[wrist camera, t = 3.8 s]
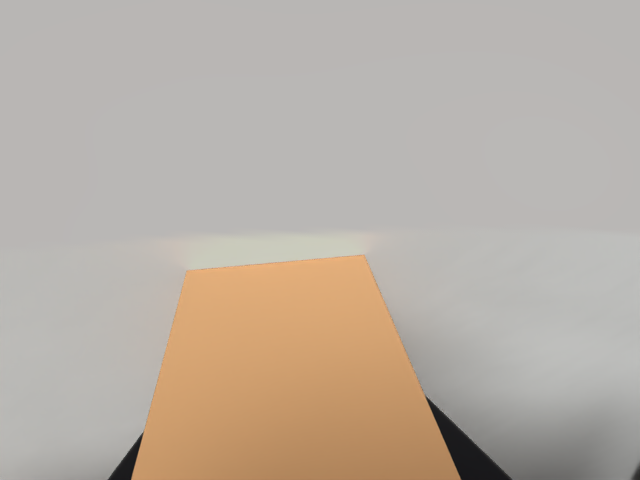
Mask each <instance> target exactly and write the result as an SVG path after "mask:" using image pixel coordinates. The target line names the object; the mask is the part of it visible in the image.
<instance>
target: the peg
mask: <svg viewBox="0 0 640 480" xmlns="http://www.w3.org/2000/svg"><path fill="white" fill-rule="evenodd" d="M131 480H461V479H460V476H459V474H458V472H457V469H456V467H455V465H454V462H453V460H452V458H451V455H450V453H449V451H448V448H447V446H446V444H445V441H444V439H443V437H442V434H441V432H440V430H439V427H438V425H437V423H436V420H435V418H434V416H433V414H432V411H431V409H430V407H429V404H428V402H427V400H426V397H425V395H424V393H423V390H422V388H421V386H420V383H419V381H418V379H417V376H416V374H415V372H414V369H413V367H412V365H411V362H410V360H409V358H408V355H407V353H406V351H405V348H404V346H403V344H402V342H401V339H400V337H399V335H398V332H397V330H396V328H395V325H394V323H393V321H392V318H391V316H390V314H389V311H388V309H387V307H386V304H385V302H384V300H383V297H382V295H381V293H380V290H379V288H378V286H377V283H376V281H375V279H374V276H373V274H372V272H371V269H370V267H369V265H368V263H367V260H366V258H365V256H364V255H357V256H346V257H335V258H324V259H312V260H301V261H290V262H279V263H268V264H257V265H245V266H234V267H223V268H212V269H201V270H189V271H187V272H186V276H185V280H184V283H183V287H182V291H181V295H180V298H179V302H178V306H177V310H176V313H175V317H174V321H173V325H172V328H171V332H170V336H169V340H168V343H167V347H166V351H165V355H164V358H163V362H162V366H161V370H160V373H159V377H158V381H157V385H156V388H155V392H154V396H153V400H152V403H151V407H150V411H149V415H148V418H147V422H146V426H145V430H144V433H143V437H142V441H141V445H140V448H139V452H138V456H137V460H136V463H135V467H134V471H133V475H132V478H131Z"/></svg>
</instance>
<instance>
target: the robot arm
mask: <svg viewBox="0 0 640 480" xmlns="http://www.w3.org/2000/svg"><path fill="white" fill-rule="evenodd" d="M425 397H426V396H425ZM426 400H427V402H428V404H429V407H430V409H431V411H432V414H433V416H434V418H435V420H436V423H437V425H438V427H439V430H440V432H441V434H442V437H443V439H444V441H445V444H446V446H447V448H448V451H449V453H450V455H451V458H452V460H453V462H454V465H455V467H456V469H457V472H458V474H459V476H460V479H461V480H512V479H511V478H510V477H509V476H508V475H507V474H506V473H505V472H504V471H503V470H502V469H501V468H500V467H499V466H498V465H497V464H496V463H495V462H494V461H493V460H492V459H491V458H489V457H488V456H487V455H486V454H485V453H484V452H483V451H482V450H481V449H480V448H479V447H478V446H477V445H476V444H475V443H474V442H473V441H472V440H471V439H470V438H469V437H468V436H467V435H466V434H465V433H464V432H463V431H461V430H460V429H459V428H458V427H457V426H456V425H455V424H454V423H453V422H452V421H451V420H450V419H449V418H448V417H447V416H446V415H445V414H444V413H443V412H442V411H441V410H440V409H439V408H438V407H437V406H436V405H434V404H433V403H432V402H431V401H430V400H429V399H428V398H427V397H426ZM143 433H144V432H143ZM143 433H142V434H141V436H140V437H139V438H138V440H137V441H136V443H135V444H134V445H133V447H132V448H131V449H130V451H129V452H128V453H127V455H126V456H125V457H124V459H123V460H122V461H121V463H120V464H119V465H118V467H117V468H116V469H115V471H114V472H113V473H112V475H111V476H110V477H109V479H108V480H131V478H132V475H133V471H134V467H135V463H136V460H137V456H138V452H139V448H140V445H141V441H142V437H143Z"/></svg>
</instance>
